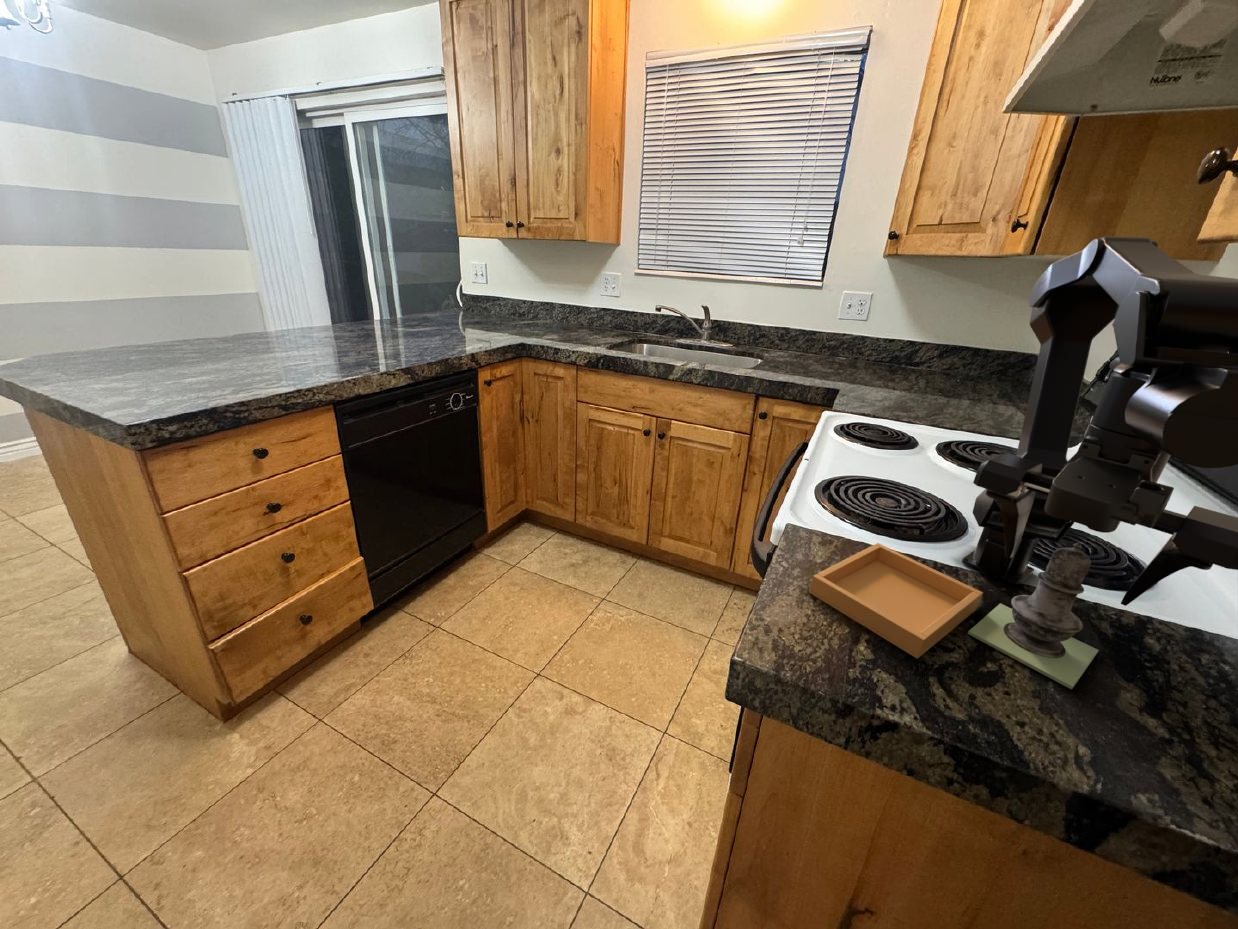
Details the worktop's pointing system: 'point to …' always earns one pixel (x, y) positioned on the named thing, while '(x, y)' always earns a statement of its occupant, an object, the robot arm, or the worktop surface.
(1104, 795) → the worktop surface
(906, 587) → the tray
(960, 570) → the worktop surface
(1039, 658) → the mat
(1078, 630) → the stone finial
